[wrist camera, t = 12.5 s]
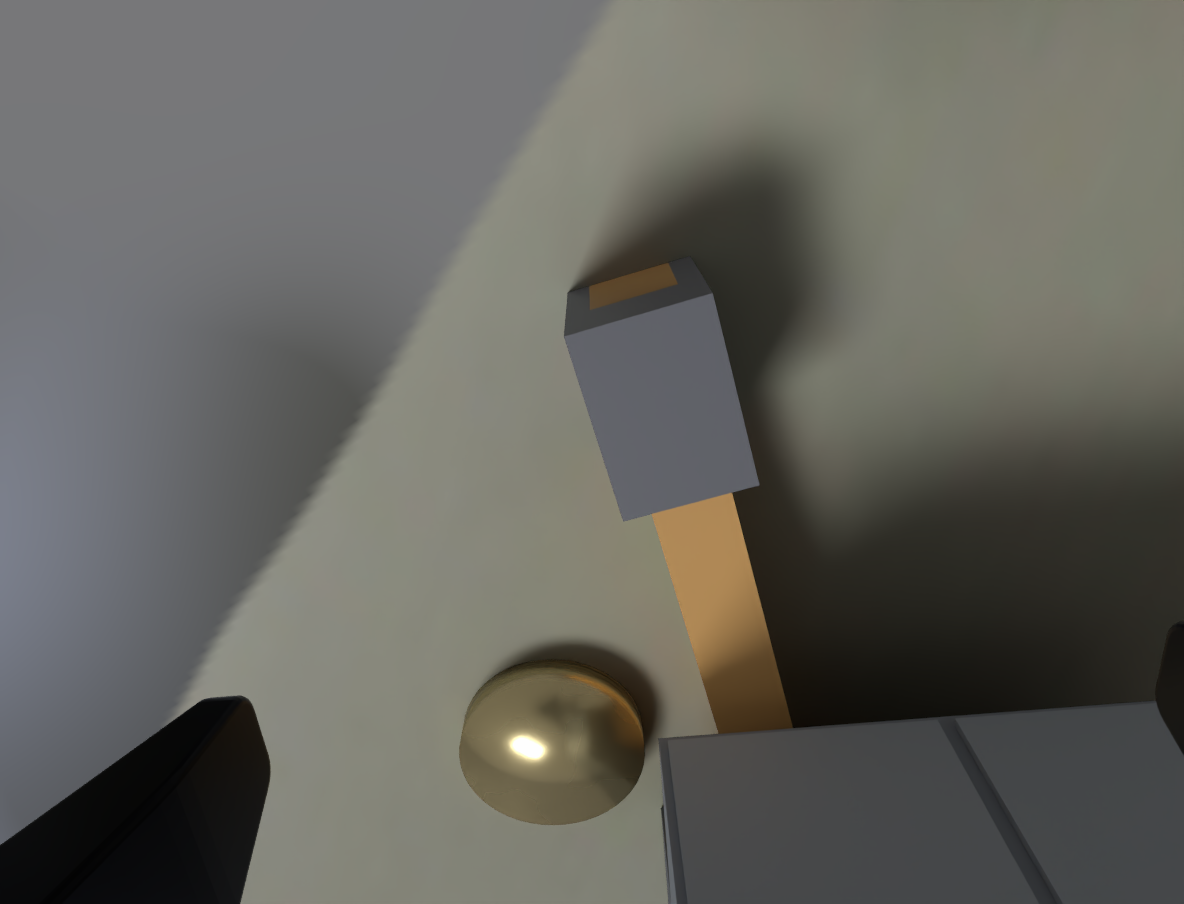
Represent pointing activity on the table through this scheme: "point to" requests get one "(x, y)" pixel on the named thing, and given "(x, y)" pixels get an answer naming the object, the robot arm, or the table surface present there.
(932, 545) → the table surface
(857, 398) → the table surface
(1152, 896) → the cabinet
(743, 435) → the gray mallet
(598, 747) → the disc
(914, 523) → the table surface
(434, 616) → the table surface
